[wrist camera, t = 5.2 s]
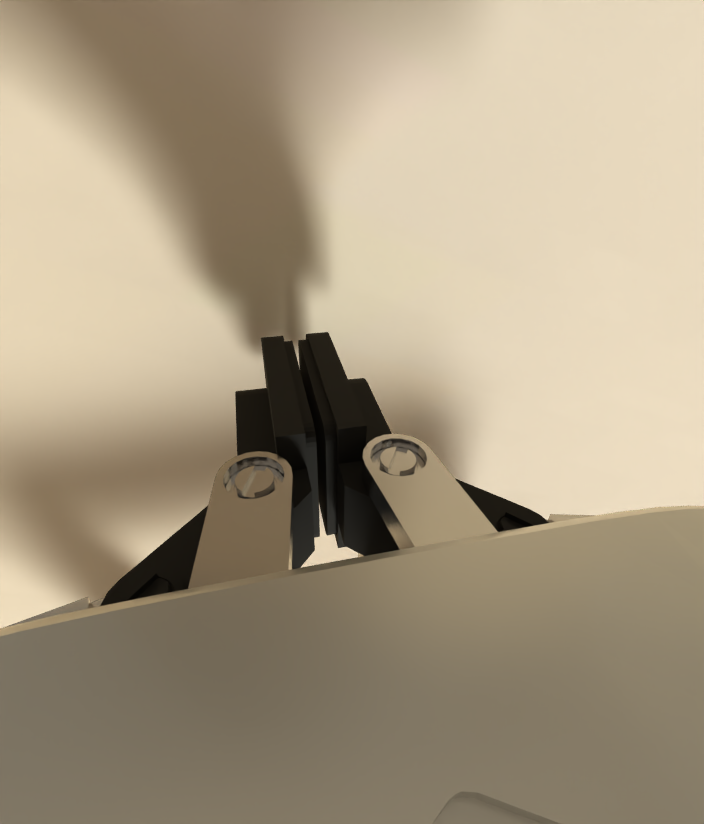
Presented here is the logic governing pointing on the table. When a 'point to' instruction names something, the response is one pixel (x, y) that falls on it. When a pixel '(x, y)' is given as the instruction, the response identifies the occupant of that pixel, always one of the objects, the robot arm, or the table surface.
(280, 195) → the table surface
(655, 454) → the table surface
